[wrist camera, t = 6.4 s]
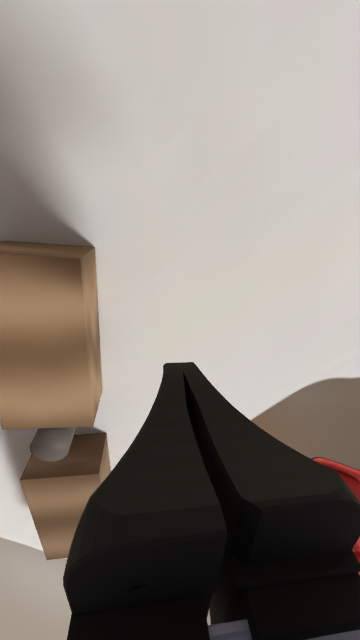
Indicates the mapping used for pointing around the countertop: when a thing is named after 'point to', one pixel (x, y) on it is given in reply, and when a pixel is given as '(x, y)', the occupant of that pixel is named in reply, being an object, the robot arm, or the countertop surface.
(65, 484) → the oblong wooden brick
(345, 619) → the robot arm
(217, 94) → the countertop surface
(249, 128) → the countertop surface
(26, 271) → the swing leaf
